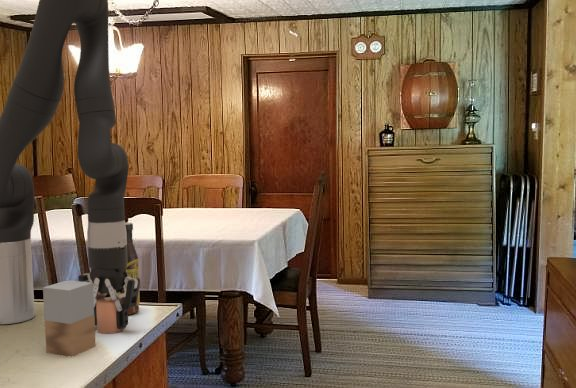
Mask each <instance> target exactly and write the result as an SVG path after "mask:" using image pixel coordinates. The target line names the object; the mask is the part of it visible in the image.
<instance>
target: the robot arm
mask: <svg viewBox="0 0 576 388" xmlns="http://www.w3.org/2000/svg"><path fill="white" fill-rule="evenodd" d="M73 24H75V25H76V28H77V33H78V36H79V37H78V38H79V43H80V44H79V45H80V52H79V53H80V55H79V60H78V61H79V62H78V64H77V68H76V74H75V76H74V84H73V87H74V88H73V91H74V92H73V93H74V100H75V108H76V113H77V119H78V123H79V125H78V134H77V159H78V163H79V166H80V168H81V171H82V172H83V173H84V175H85V176H87V177H88V178H89V179H92V180H95V182H94V188H93V191H91V193H90V194H88V197H87V202H86V203H87V206H86V207H87V233H86V235H87V236H86V238H87V239H86V241H87V242H86V243H87V261H88V262H87V263H88V268H89V269H90V271H89V272H87V273H83V274H80V275H78V277H77V278H78V281H80V282H89V283H93V299H94V317H95V327H97V311H96V301H97V300H98V299H101V298H106V296H107V295H109V297H110V296H111V299H112V300H113V301H114V302H115V305H116V308H117V310H118V311H116V315H117V329H123V328H124V329H125V328H127V326H128V324H129V315H128V309H129V308H131V307H134V306H136V305H137V299H138V292H139V293H140V284H141V279H140V277H139V278H131V277H128V274H127V272H126V266H127V264H128V259H127V232H126V226H125V223H126V220H125V219H126V216H125V213H126V211H125V193H126V190H127V189H126V188H127V183H128V175H129V158H128V156H127V153H126V151H125V149H124V148H123V147H122V146H121V145H120V144H118V143H115V142H112V140H111V129H112V128H114V127H115V125H116V121H117V117H116V109H115V104H114V97H113V92H112V83H111V79H110V78H111V76H110V65H109V64H110V63H109V62H110V61H109V60H110V59H109V56H110V55H109V3H108V0H39V2H38V5H37V9H36V13H35V17H34V21H33V25H32V29H31V31H30V35H29V38H28V41H27V44H26V47H25V50H24V53H23V56H22V59H21V62H20V65H19V67H18V70H17V72H16V74H15V77H14V79H13V81H12V84H11V85H10V86H11V87H10V89H9V92H8V95H7V97H6V101H5V104H4V105H3V106H4V107H3V109H2V113H1V115H0V325H9V324H11V325H13V324H17V323H21V322H27V321H29V320H32V319H33V318H34V317H35V295H34V292H35V291H34V274H33V255H32V228H33V225H34V221H35V187H34V186H35V185H34V180H33V177H32V174H31V172H30V170H28V168H27V167H26V166H25V165H22V164H20V163H17V161H18V159H19V158H20V156H21V154H22V153H23V152H24V150H25V149H26V148H27V147H28V146H29V145H30V144H31V143H32V142H33V141H34V140H35V139H36V138H37V137H38V136H40V135H41V134H42V132H43V131H44V130H45V129H46V128H47V127H48V125H50V123H51V122H52V120H53V118H54V116H55V114H56V112H57V110H58V107H59V105H60V102H61V100H62V96H63V93H64V89H65V78H64V76H65V75H64V68H63V49H64V45H65V42H66V40H67V37H68V35H69V32H70V30H71V27H72V25H73ZM125 283H126V286H125ZM126 288H127V289H126ZM119 292H120V295H118V294H117V293H119ZM121 300H122V302H121ZM124 329H123V330H124Z"/></svg>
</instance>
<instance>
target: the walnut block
mask: <svg viewBox="0 0 576 388" xmlns="http://www.w3.org/2000/svg"><path fill="white" fill-rule="evenodd" d="M44 324H45V325H44V331H45V332H44V333H45V353H47V354H52V355H58V356H62V355H63V356H64V357H68V356H71V357H70V358H73V357H72V356H74V357H76V356H78V355H80V354H82V353H84V352H86V351H89V350H91V349H93V348H95V347H96V345H97V344H96V326H95V317H94V315H92V316H90V317H87V318H85V319H82V320H79V321H77V322H74V323H72V324H67V323H60V322H53V321H46V320H45V319H44ZM79 353H80V354H79ZM77 354H78V355H77ZM75 355H76V356H75Z"/></svg>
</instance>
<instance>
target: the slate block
mask: <svg viewBox="0 0 576 388" xmlns="http://www.w3.org/2000/svg"><path fill="white" fill-rule="evenodd" d="M93 287H94V284H93V283H89V282H80V281H79V280H72V279H71V280H70V279H68V280H64V281H61V282H57V283H54V284H50V285H47V286H44V287H42V293H43V295H42V296H43V298H42V299H43V312H44V313H43V314H44V317H43V319H44V321H45V320H46V321H53V322H60V323H67V324H72V323H74V322H77V321H79V320H82V319H85V318H87V317H90V316H92V315H94V299H93Z"/></svg>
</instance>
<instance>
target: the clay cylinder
mask: <svg viewBox="0 0 576 388" xmlns="http://www.w3.org/2000/svg"><path fill="white" fill-rule="evenodd" d="M121 302H122V300H121ZM96 311H97V326H96V331H97V332H98V333H99V334H100V333H101V334H114V333H119V332H122V331H124V329H125V328H123V329H117V315H116V311H118V310H117V308H116V305H115V302H114V301H113V300H112V299H111V297H110V296H108V297H106V296H105V298H101V299H98V300H97V301H96Z"/></svg>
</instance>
